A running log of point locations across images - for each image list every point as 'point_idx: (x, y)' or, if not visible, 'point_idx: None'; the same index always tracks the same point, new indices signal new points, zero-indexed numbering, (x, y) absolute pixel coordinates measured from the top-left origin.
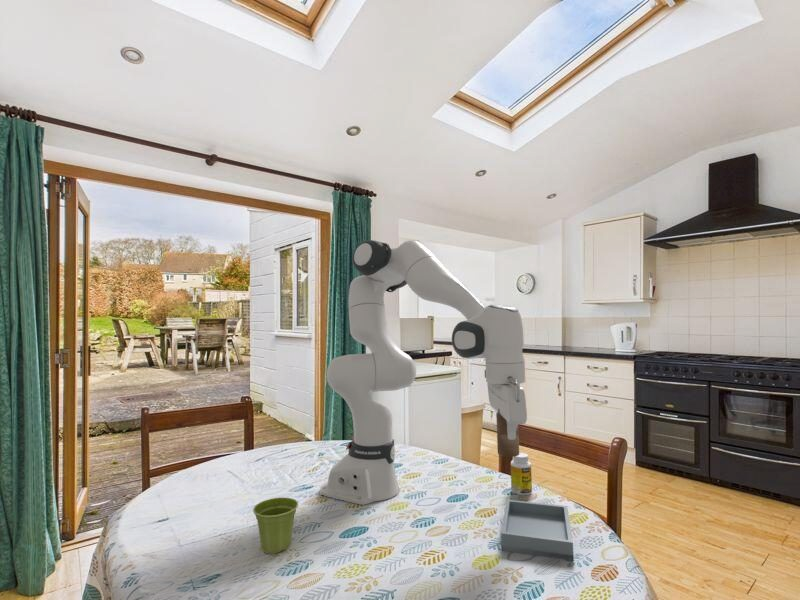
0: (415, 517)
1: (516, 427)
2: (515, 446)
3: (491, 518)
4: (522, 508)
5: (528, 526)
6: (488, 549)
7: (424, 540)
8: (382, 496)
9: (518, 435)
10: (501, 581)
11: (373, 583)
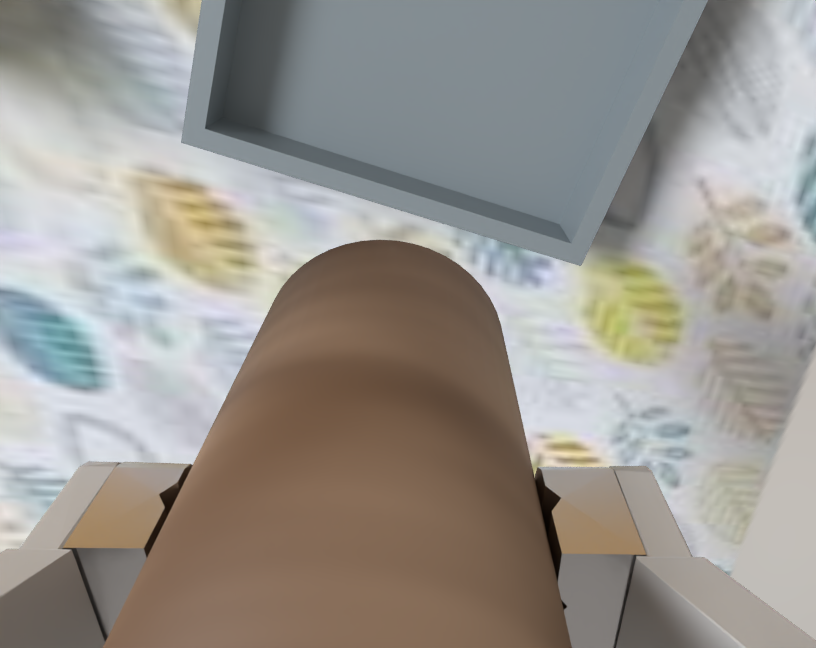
0: None
1: (799, 636)
2: (503, 359)
3: (264, 219)
4: (228, 46)
5: (400, 59)
6: (547, 288)
7: None
8: None
9: (432, 370)
10: (769, 285)
11: None
